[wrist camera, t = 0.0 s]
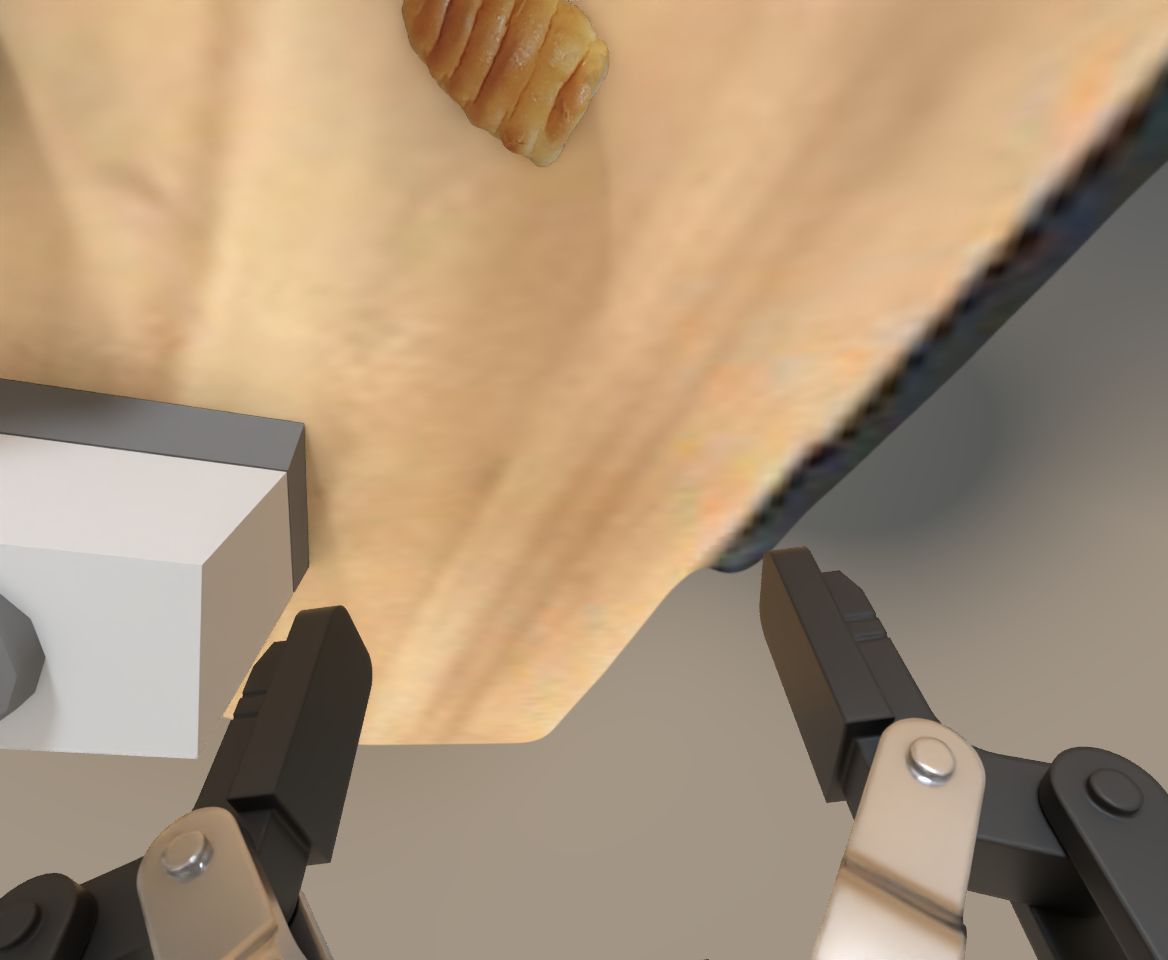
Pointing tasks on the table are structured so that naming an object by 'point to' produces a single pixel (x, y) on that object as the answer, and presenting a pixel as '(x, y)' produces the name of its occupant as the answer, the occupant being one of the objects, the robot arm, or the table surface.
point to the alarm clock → (138, 565)
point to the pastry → (512, 66)
